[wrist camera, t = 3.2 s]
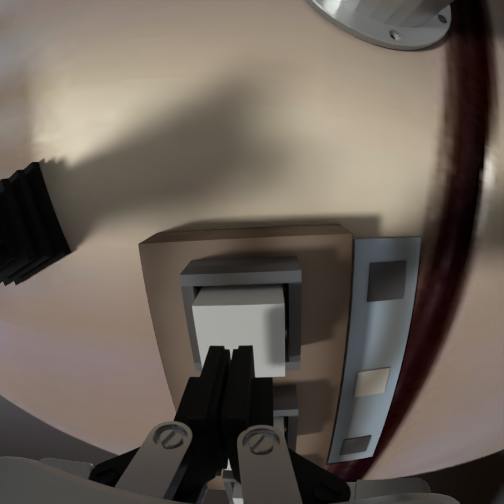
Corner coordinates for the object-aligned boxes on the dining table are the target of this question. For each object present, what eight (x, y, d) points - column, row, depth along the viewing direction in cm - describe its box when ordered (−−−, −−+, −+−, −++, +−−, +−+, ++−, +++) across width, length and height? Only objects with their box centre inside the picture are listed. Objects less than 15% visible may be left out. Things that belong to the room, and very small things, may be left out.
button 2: (281, 283, 15) (284, 303, 12) (283, 349, 16) (285, 376, 13) (202, 285, 15) (191, 305, 13) (211, 351, 16) (204, 377, 14)
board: (419, 222, 18) (463, 240, 13) (369, 459, 25) (379, 495, 20) (156, 233, 19) (119, 255, 14) (207, 467, 26) (200, 505, 21)
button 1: (282, 476, 19) (282, 498, 17) (281, 494, 20) (281, 514, 18) (234, 476, 20) (232, 498, 17) (239, 494, 21) (237, 514, 18)
